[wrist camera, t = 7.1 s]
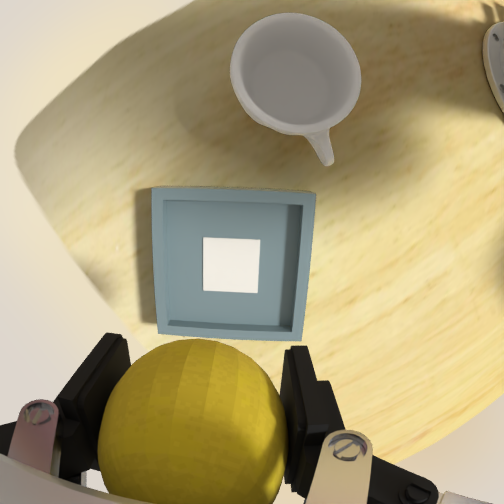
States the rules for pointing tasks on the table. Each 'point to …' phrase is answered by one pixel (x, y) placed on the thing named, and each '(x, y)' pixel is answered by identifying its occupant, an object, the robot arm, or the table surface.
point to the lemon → (194, 428)
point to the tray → (231, 261)
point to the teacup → (296, 77)
